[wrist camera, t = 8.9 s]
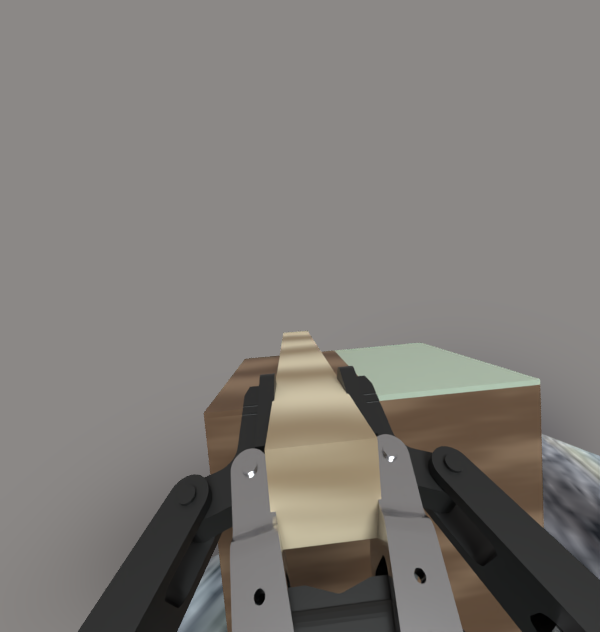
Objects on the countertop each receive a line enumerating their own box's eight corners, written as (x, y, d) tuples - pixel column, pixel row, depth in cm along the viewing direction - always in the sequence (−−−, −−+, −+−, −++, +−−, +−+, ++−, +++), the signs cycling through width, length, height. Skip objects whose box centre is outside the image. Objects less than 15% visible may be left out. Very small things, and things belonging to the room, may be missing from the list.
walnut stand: (549, 770, 20) (540, 379, 18) (248, 821, 19) (203, 412, 17) (432, 561, 36) (421, 342, 34) (266, 582, 35) (245, 358, 33)
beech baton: (383, 536, 7) (377, 437, 7) (274, 550, 7) (264, 450, 7) (309, 352, 33) (307, 330, 33) (285, 355, 33) (283, 332, 33)
